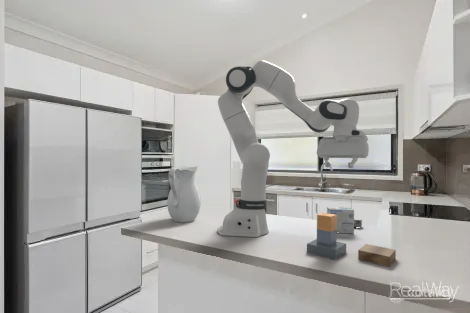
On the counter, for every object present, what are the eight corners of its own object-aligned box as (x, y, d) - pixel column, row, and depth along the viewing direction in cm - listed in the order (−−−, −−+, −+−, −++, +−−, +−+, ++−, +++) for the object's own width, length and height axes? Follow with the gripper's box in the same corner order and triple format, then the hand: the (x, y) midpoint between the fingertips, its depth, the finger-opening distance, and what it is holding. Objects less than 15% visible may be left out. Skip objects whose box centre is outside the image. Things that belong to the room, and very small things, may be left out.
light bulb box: (349, 230, 128) (350, 207, 129) (354, 234, 122) (355, 209, 122) (326, 229, 129) (326, 206, 130) (329, 233, 123) (330, 208, 123)
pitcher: (177, 215, 154) (178, 165, 154) (205, 218, 149) (206, 166, 149) (152, 224, 131) (153, 166, 132) (183, 228, 126) (185, 167, 126)
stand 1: (306, 252, 96) (306, 243, 96) (318, 246, 103) (319, 237, 103) (335, 259, 89) (335, 250, 89) (346, 252, 97) (346, 243, 97)
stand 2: (358, 259, 90) (358, 250, 90) (366, 252, 97) (366, 244, 97) (389, 266, 84) (389, 256, 84) (395, 259, 91) (395, 249, 91)
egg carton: (337, 226, 137) (337, 218, 137) (340, 224, 143) (340, 216, 143) (360, 229, 131) (360, 221, 131) (363, 226, 137) (363, 218, 137)
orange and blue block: (316, 243, 96) (317, 214, 96) (322, 240, 100) (323, 212, 100) (330, 246, 93) (331, 216, 93) (336, 243, 97) (336, 214, 97)
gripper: (317, 134, 120) (311, 163, 116) (366, 131, 106) (361, 165, 102) (323, 140, 124) (317, 169, 120) (372, 138, 110) (367, 171, 106)
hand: (338, 167), depth 111 cm, fingers open, 8 cm apart
